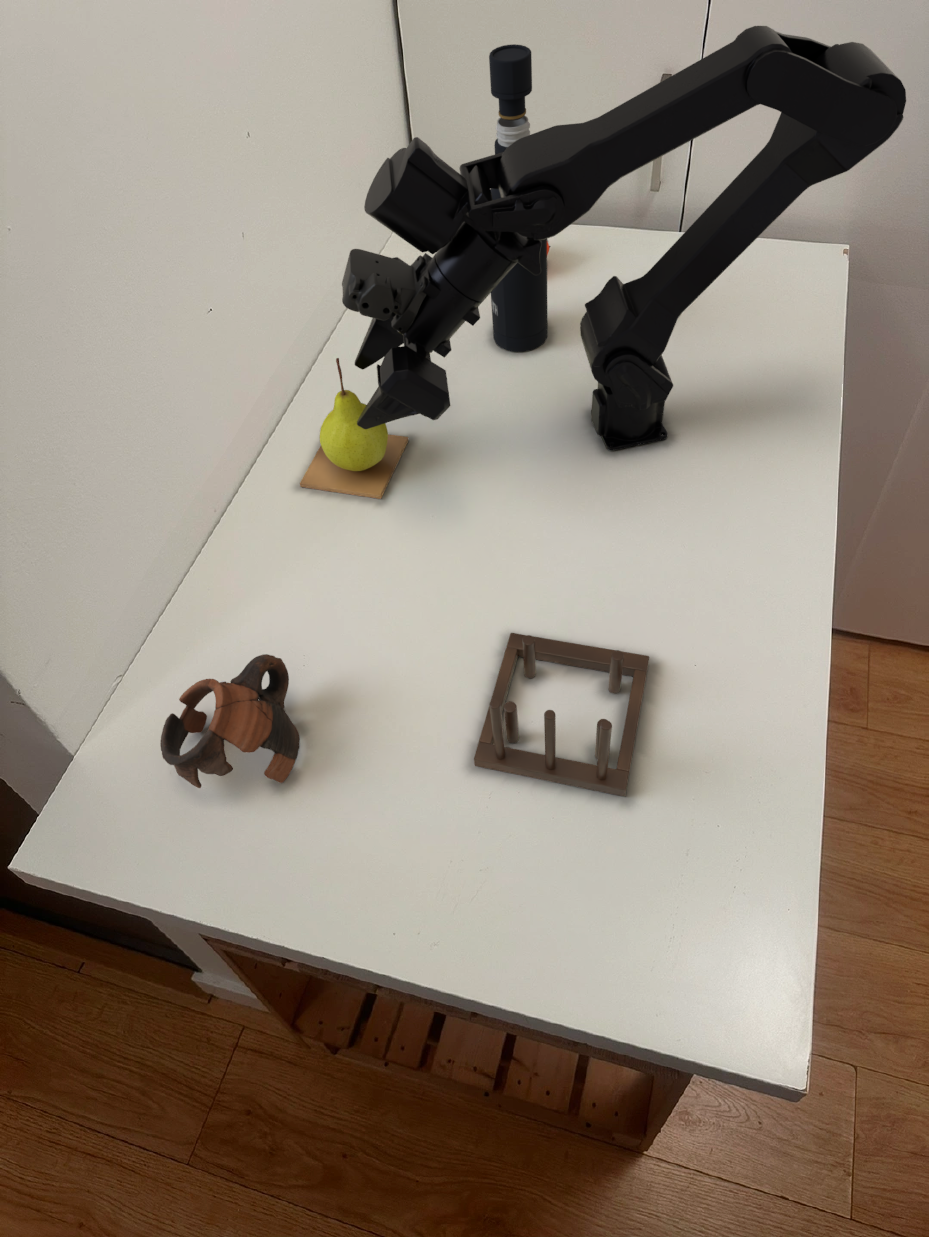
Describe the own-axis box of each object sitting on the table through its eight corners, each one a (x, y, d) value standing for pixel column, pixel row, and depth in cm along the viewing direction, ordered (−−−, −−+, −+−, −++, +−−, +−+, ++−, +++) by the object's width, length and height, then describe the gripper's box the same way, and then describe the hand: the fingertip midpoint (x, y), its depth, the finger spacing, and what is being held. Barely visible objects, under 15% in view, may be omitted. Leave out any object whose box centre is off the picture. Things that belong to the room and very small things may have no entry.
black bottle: (557, 328, 103) (558, 43, 79) (530, 358, 100) (522, 72, 76) (511, 314, 105) (498, 34, 81) (483, 343, 102) (461, 61, 78)
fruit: (389, 485, 88) (369, 391, 79) (323, 488, 89) (296, 394, 79) (395, 440, 92) (376, 344, 83) (332, 442, 93) (307, 348, 84)
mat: (331, 430, 95) (330, 426, 95) (408, 440, 93) (408, 436, 93) (300, 487, 90) (299, 483, 90) (381, 499, 88) (380, 495, 88)
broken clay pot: (275, 821, 68) (193, 785, 63) (213, 795, 75) (133, 760, 69) (339, 684, 72) (266, 638, 66) (275, 670, 78) (203, 628, 73)
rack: (511, 640, 76) (506, 574, 69) (648, 663, 73) (658, 598, 66) (474, 766, 69) (465, 707, 62) (625, 797, 66) (633, 740, 59)
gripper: (380, 170, 77) (289, 298, 86) (390, 287, 66) (284, 420, 75) (475, 241, 83) (381, 353, 92) (499, 359, 72) (389, 474, 81)
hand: (359, 395), depth 85 cm, fingers open, 9 cm apart
